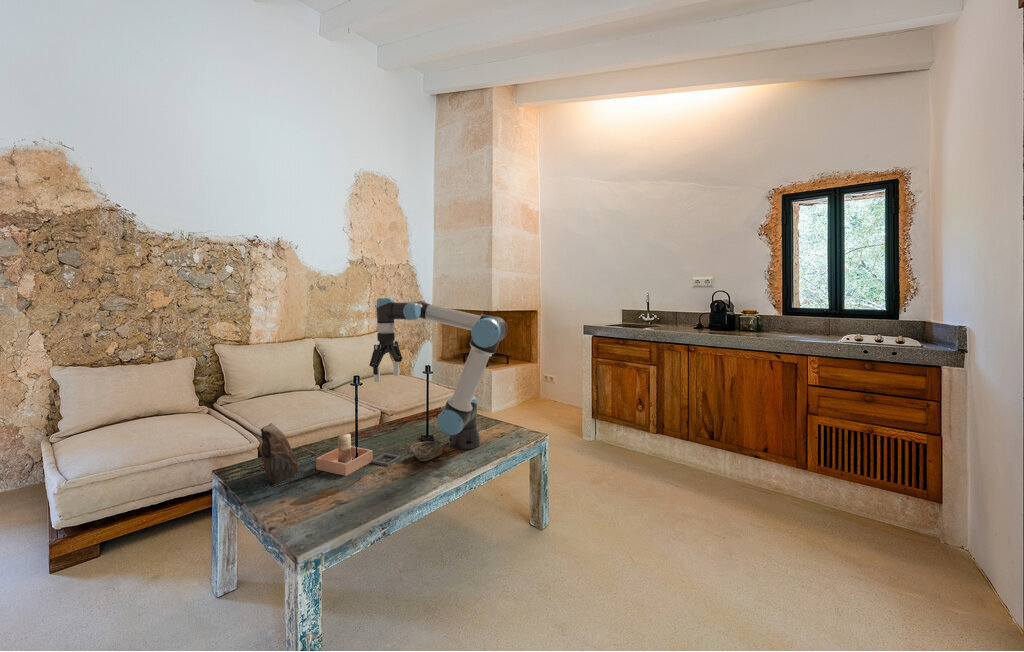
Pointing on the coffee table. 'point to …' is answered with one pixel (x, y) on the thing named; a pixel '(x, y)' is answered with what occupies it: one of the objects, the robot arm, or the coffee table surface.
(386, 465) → the gray square frame
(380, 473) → the coffee table surface
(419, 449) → the stone
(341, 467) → the tray
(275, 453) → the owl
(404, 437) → the coffee table surface
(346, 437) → the beige rounded cylinder
